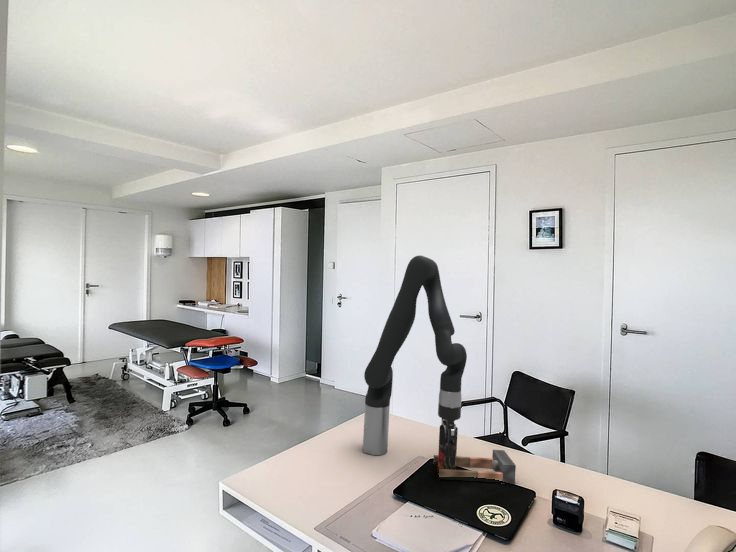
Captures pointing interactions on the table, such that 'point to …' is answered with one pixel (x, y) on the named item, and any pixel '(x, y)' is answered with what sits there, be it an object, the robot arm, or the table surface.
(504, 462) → the guide channel
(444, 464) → the deodorant
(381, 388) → the robot arm
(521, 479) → the table surface
